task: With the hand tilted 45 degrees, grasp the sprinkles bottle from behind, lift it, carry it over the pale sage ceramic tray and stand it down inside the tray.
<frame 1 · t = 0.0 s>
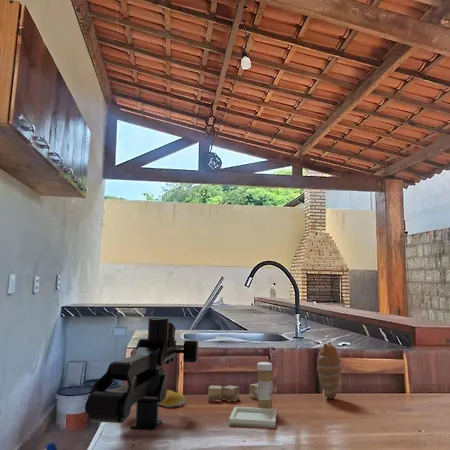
hand: (175, 347, 132), 17 cm above the table, tool horizontal, fingers open, 9 cm apart
croissant: (329, 399, 134), on the table
oak cube a: (215, 400, 131), on the table
tray: (253, 419, 110), on the table
bread roll: (170, 405, 126), on the table
oak cube b: (230, 400, 132), on the table
oak cube c: (258, 397, 135), on the table
sprinkles bottle: (265, 411, 120), on the table
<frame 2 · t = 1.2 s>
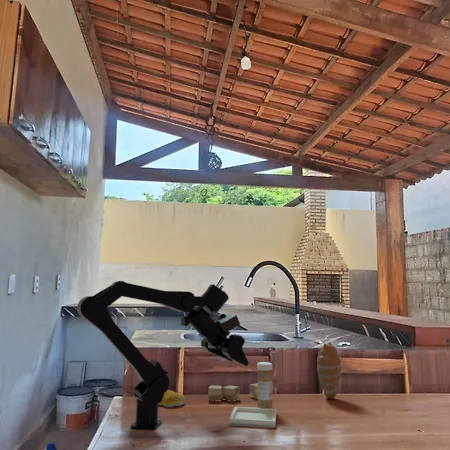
hand: (239, 362, 119), 14 cm above the table, tool tilted 45°, fingers open, 9 cm apart
nothing on the table moved.
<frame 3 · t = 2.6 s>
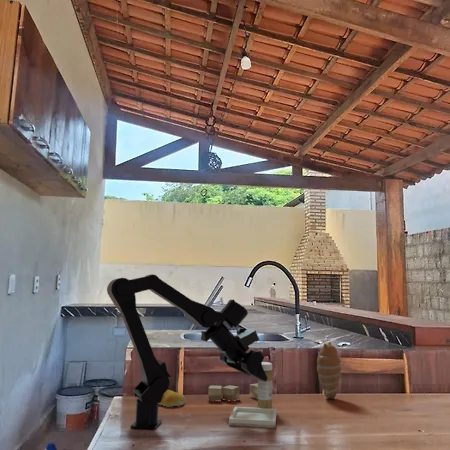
hand: (258, 377, 121), 10 cm above the table, tool tilted 45°, fingers open, 9 cm apart
nothing on the table moved.
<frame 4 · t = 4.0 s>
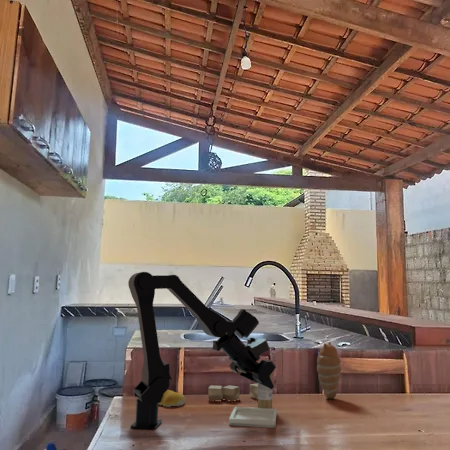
hand: (268, 386, 122), 7 cm above the table, tool tilted 45°, fingers closed on sprinkles bottle, 4 cm apart
sprinkles bottle: (265, 410, 120), on the table, touching gripper
everything else where it was.
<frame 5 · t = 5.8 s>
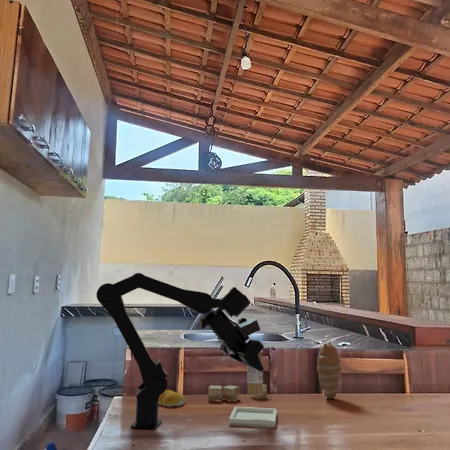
hand: (258, 369, 115), 13 cm above the table, tool tilted 45°, fingers closed on sprinkles bottle, 4 cm apart
sprinkles bottle: (255, 396, 113), point 6 cm above the table, touching gripper
everything else where it was.
when the fingers open (8 cm above the table, at t = 7.4 s): sprinkles bottle stays where it is, resting on tray.
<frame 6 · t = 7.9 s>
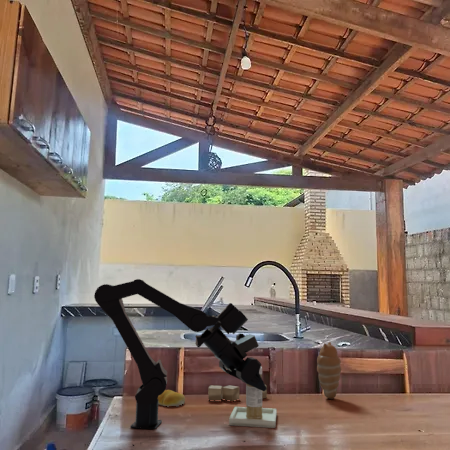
hand: (258, 386, 112), 9 cm above the table, tool tilted 45°, fingers open, 9 cm apart
sprinkles bottle: (254, 418, 110), resting on tray
everything else where it was.
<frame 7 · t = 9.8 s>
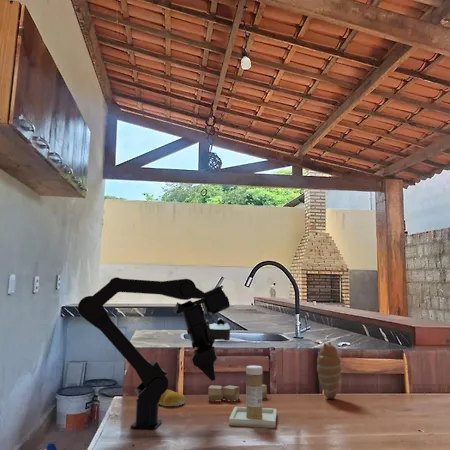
hand: (213, 372, 115), 12 cm above the table, tool tilted 25°, fingers open, 9 cm apart
nothing on the table moved.
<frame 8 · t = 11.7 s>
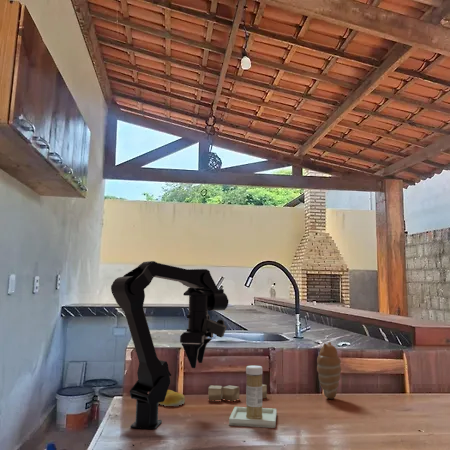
hand: (197, 365, 119), 13 cm above the table, tool pointing down, fingers open, 9 cm apart
nothing on the table moved.
at the end: sprinkles bottle inside the target area on the tray (0.7 cm from its centre), point 0.4 cm above the tray's base; sprinkles bottle tilted 0°; the gripper is holding nothing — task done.
